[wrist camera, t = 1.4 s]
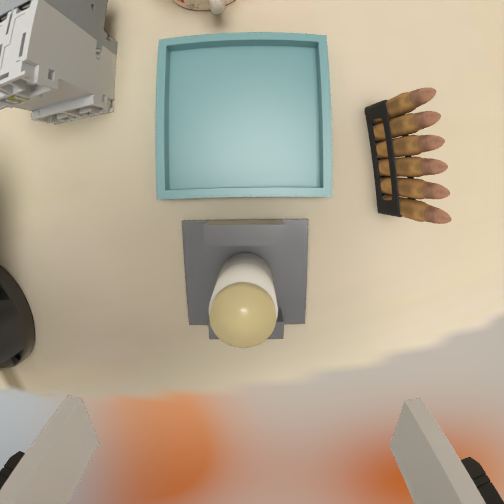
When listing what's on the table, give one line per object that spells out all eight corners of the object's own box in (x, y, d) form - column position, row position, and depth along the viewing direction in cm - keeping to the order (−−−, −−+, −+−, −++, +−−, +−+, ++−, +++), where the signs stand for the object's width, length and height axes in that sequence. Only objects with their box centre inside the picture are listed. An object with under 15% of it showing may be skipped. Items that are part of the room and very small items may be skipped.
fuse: (221, 299, 32) (208, 349, 23) (219, 250, 31) (204, 285, 21) (271, 298, 32) (278, 349, 23) (271, 249, 31) (279, 284, 21)
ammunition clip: (364, 107, 28) (421, 76, 17) (380, 107, 28) (442, 78, 16) (378, 213, 31) (440, 234, 19) (394, 211, 31) (460, 231, 19)
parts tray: (164, 197, 30) (157, 199, 28) (165, 48, 27) (158, 39, 24) (326, 195, 30) (332, 197, 28) (321, 44, 27) (326, 35, 24)
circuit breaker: (122, -1, 25) (62, -71, 10) (113, 111, 28) (24, 77, 14) (66, 16, 25) (-6, -35, 10) (55, 124, 28) (-42, 108, 14)
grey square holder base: (190, 322, 33) (183, 338, 30) (182, 220, 31) (174, 226, 27) (304, 321, 33) (309, 337, 30) (307, 218, 31) (314, 224, 27)
